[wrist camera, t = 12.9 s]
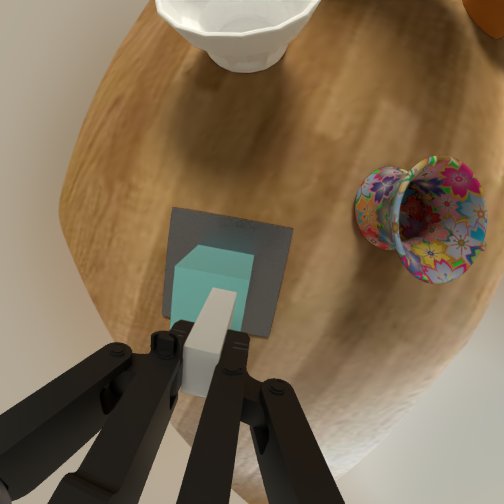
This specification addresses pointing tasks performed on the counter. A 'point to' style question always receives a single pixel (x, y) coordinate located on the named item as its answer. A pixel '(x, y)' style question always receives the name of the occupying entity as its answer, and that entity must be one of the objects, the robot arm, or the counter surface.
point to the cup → (239, 28)
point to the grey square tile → (239, 240)
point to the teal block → (210, 282)
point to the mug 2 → (487, 15)
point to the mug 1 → (425, 216)
